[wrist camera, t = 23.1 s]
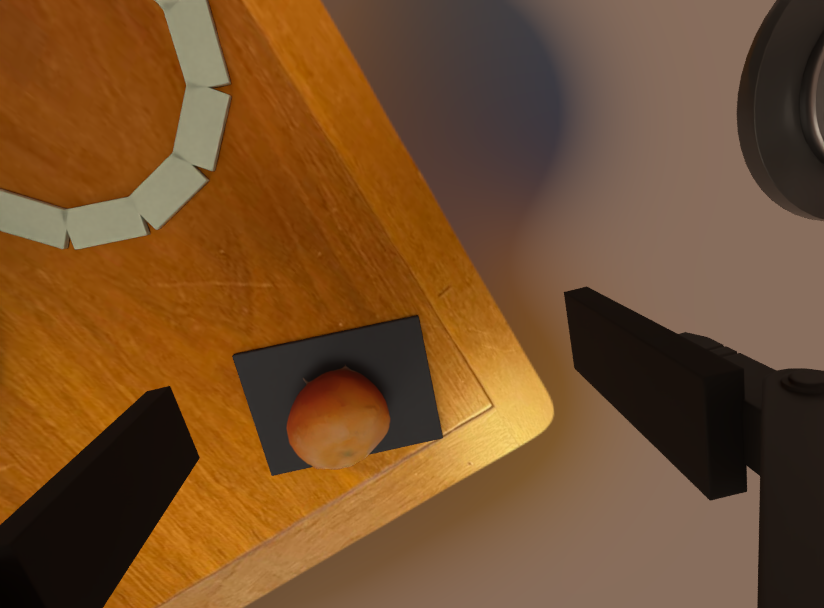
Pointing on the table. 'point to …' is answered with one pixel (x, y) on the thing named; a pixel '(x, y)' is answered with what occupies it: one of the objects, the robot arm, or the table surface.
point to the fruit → (337, 419)
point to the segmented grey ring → (172, 177)
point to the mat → (357, 348)
